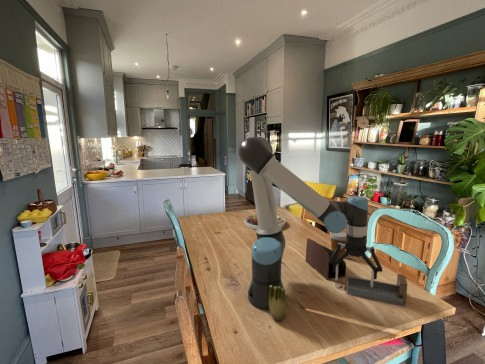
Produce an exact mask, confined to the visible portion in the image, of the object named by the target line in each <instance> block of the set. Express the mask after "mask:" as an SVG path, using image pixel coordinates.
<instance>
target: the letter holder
mask: <svg viewBox="0 0 485 364" xmlns="http://www.w3.org/2000/svg"><path fill="white" fill-rule="evenodd" d="M305 249H306V250H305V262H306V263H307V264H308V265H309V266H310V267H311V268H312V269H313V270H315V271H316V272H317V273H318V274H320V275H321V276H322V277H323V278H324V279H325V280H326V281H330V280H335V278H336V272H333V264H330V263H329V259H330V258H331V256H332V255H333V253H334V252H333V251H332V249H330V248H328V247H326V246H325V245H322V244H319V242H317V241H316V240H313V239H311V238H309V237H308V238H307V239H306V248H305ZM338 257H339V256H338V255H337V256H336V257H335V259H334V261H335V260H336V259H337V258H338ZM346 277H347V263H346V261H345V259H343V260H342V261H341V262H339V263H338V279H341V278H346Z"/></svg>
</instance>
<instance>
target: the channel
mask: <svg viewBox="0 0 485 364" xmlns="http://www.w3.org/2000/svg"><path fill="white" fill-rule="evenodd" d="M407 290H408V282H407V279H406V276H405V274H398V273H397V276H396V284H393V283H389V282H383V281H379V280H377V281H376V280H373V288H372V287H371V279H367V278H363V277H362V278H361V277H356V276H351V275H348V279H347V281H346V289H345V294H346V295H350V296H356V297H360V298H365V299H368V300H374V301H377V302H378V301H379V302H382V303H383V302H384V303H388V304H392V305H396V306H402V307H407V304H406V302H407V293H408V291H407Z"/></svg>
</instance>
